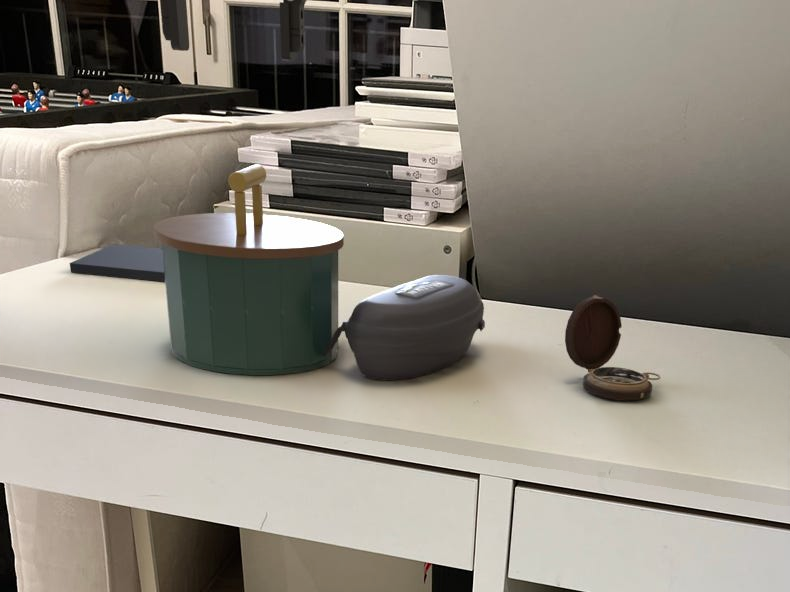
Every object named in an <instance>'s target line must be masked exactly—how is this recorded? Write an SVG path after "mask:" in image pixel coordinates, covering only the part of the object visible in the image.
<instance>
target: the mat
mask: <svg viewBox="0 0 790 592" xmlns="http://www.w3.org/2000/svg"><path fill="white" fill-rule="evenodd" d="M69 268H70V273H74V274H83V275H93V276H101V277H102V276H103V277H113V278H123V279H133V280H141V281H143V280H144V281H151V282H163V283H165V276H164V264H163V253H162V248H160V247H149V246H139V245H130V244H129V245H128V244H118V243H112V244H110V245H108V246H105V247H103V248H100V249H99V250H96V251H94V252H91V253H89V254H87V255H85V256H83V257H80V258H78V259H75V260H73V261H72V262H69Z"/></svg>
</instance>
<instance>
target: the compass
mask: <svg viewBox="0 0 790 592" xmlns="http://www.w3.org/2000/svg"><path fill="white" fill-rule="evenodd" d="M621 328H622V317H621V314H620V312H619V309H618V307H617V306H616V305H615V304H614V302H613V301H612V300H609V299H608V298H606V297H601V296H599V295H593V296H591V297H587V298H585V299H583V300H582V301H581V302H579V303H578V304H577V305H576V307H574V309H573V310H572V312H571V314H570V316H569V317H568V320H567V323H566V327H565V331H564V332H565V333H564V343H565V348H566V352H567V354H568V357H569V359H570V360H571V361H572V362H573V364H575V365H576V366H578V367H580V368H583V369H586V370H587V373H586V374H585V375H583V377H582V384H581V385H582V388H584V390H586V391H587V392H588V393H590V394H592V395H594V396H597V397H600V398H601V397H602V398H604V399H609V400H617V401H638V400H643V399H645V398H647V397H648V396H650V395H651V394H652V391H653V384H652V381H658V380H660V379H661V375H660V374H657V373H655V372H639V371H636V370H634V369H631V368H625V367H619V366H618V367H617V366H604V365H606V364H607V363H608V362H609V361H610V360H611V359H612V357H613V356H614V355H615V353H616V351H617V349H618V347H619V344H620V340H621V336H622V333H620V329H621ZM650 375H652V376H656V377H650ZM649 380H650V381H649Z"/></svg>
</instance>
